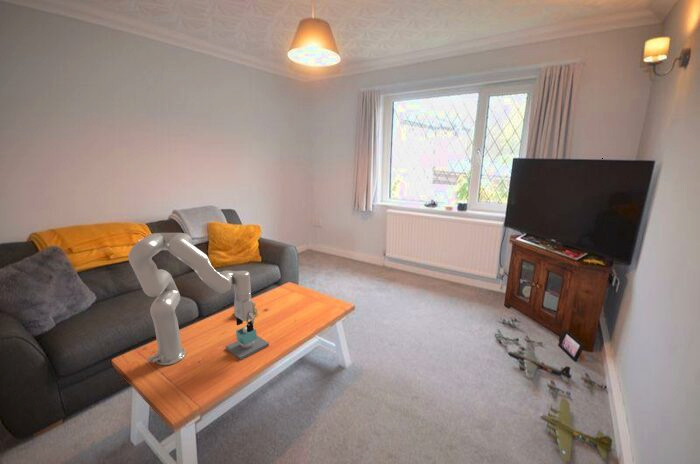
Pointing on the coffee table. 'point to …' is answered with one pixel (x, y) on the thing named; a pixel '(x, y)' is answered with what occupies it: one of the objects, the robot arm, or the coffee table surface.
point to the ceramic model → (254, 309)
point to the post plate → (248, 350)
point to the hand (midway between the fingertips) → (244, 327)
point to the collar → (246, 336)
